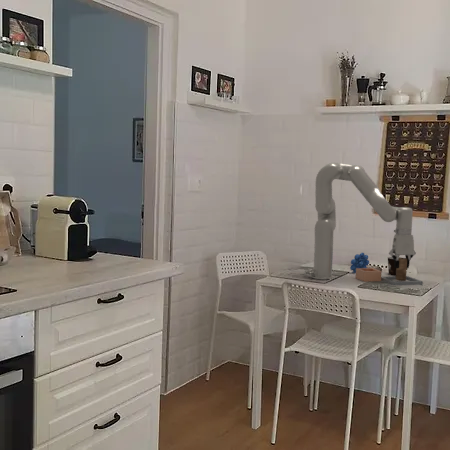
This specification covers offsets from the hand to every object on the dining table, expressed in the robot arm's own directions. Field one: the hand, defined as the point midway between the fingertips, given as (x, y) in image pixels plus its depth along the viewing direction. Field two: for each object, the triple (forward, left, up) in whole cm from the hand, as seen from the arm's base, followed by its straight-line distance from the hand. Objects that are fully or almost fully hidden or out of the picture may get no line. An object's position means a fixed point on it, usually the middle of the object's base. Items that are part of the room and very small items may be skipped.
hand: (401, 267), depth 314 cm
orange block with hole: (-14, +8, -8) cm, 18 cm away
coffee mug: (+8, +20, -9) cm, 23 cm away
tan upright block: (0, 0, -6) cm, 6 cm away
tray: (0, 0, -8) cm, 8 cm away
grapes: (-10, +27, -9) cm, 30 cm away
